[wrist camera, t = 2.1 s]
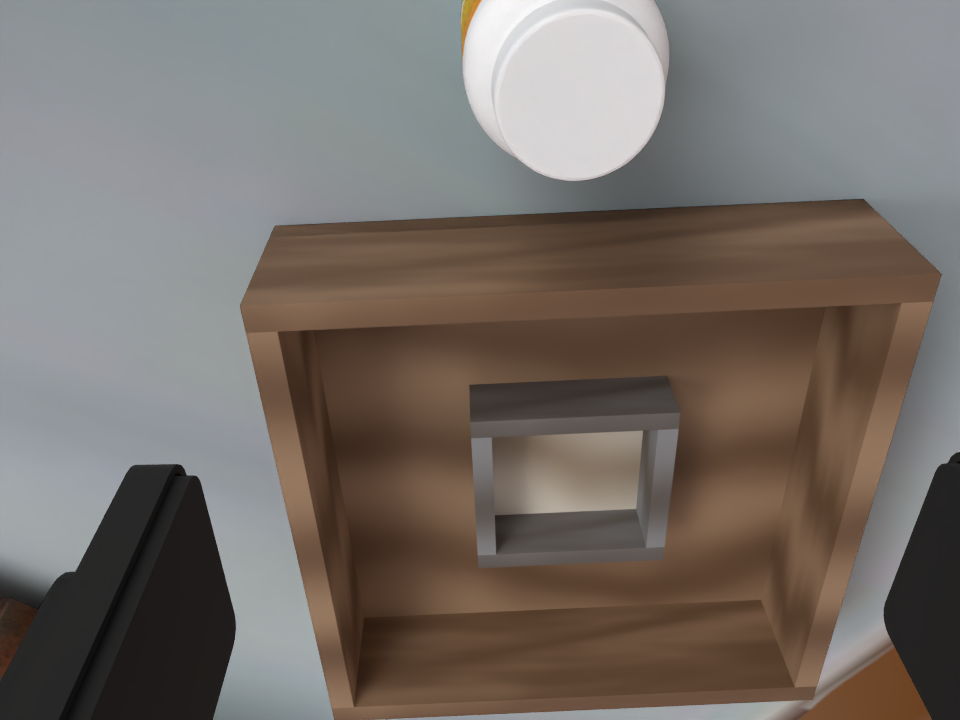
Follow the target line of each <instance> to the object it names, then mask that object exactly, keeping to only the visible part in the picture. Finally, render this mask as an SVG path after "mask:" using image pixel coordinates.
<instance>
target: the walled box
mask: <svg viewBox="0 0 960 720" xmlns="http://www.w3.org/2000/svg"><path fill="white" fill-rule="evenodd" d="M940 278H941V273H940V272H939V271H938V270H937V269H936V268H935V267H934V266H933V265H932V264H931V263H930V262H929V261H928V260H927V259H925V258H924V257H923V256H922V255H921V254H920V253H919V252H918V251H917V250H916V249H915V248H914V247H913V246H912V245H911V244H910V243H909V242H908V241H907V240H906V239H905V238H903V237H902V236H901V235H900V234H899V233H898V232H897V231H896V230H895V229H894V228H893V227H892V226H891V225H890V224H889V223H888V222H887V221H886V220H885V219H884V218H883V217H881V216H880V215H879V214H878V213H877V212H876V211H875V210H874V209H873V208H872V207H871V206H870V205H869V204H868V203H867V202H866V201H865V200H864V199H853V200H831V201H809V202H787V203H765V204H743V205H722V206H700V207H678V208H656V209H634V210H612V211H590V212H568V213H546V214H525V215H503V216H481V217H459V218H437V219H415V220H393V221H371V222H349V223H328V224H306V225H284V226H274V229H273V231H272V233H271V235H270V238H269V240H268V242H267V245H266V247H265V249H264V252H263V254H262V256H261V258H260V261H259V263H258V265H257V268H256V270H255V272H254V275H253V277H252V279H251V281H250V284H249V286H248V288H247V291H246V293H245V295H244V298H243V300H242V302H241V304H240V309H241V313H242V317H243V322H244V326H245V331H246V335H247V339H248V344H249V348H250V352H251V357H252V361H253V366H254V370H255V374H256V379H257V383H258V387H259V392H260V396H261V401H262V405H263V409H264V414H265V418H266V422H267V427H268V431H269V436H270V440H271V444H272V449H273V453H274V458H275V462H276V466H277V471H278V475H279V479H280V484H281V488H282V493H283V497H284V501H285V506H286V510H287V514H288V519H289V523H290V528H291V532H292V536H293V541H294V545H295V549H296V554H297V558H298V563H299V567H300V571H301V576H302V580H303V584H304V589H305V593H306V598H307V602H308V606H309V611H310V615H311V620H312V624H313V628H314V633H315V637H316V641H317V646H318V650H319V655H320V659H321V663H322V668H323V672H324V676H325V681H326V685H327V690H328V694H329V698H330V703H331V707H332V711H333V716H334V720H375V719H397V718H419V717H441V716H463V715H485V714H507V713H529V712H551V711H573V710H595V709H618V708H640V707H662V706H684V705H706V704H728V703H750V702H772V701H794V700H813V697H814V694H815V690H816V687H817V684H818V681H819V677H820V674H821V671H822V667H823V664H824V661H825V657H826V654H827V651H828V648H829V644H830V641H831V638H832V634H833V631H834V628H835V624H836V621H837V618H838V615H839V611H840V608H841V605H842V601H843V598H844V595H845V591H846V588H847V585H848V581H849V578H850V575H851V572H852V568H853V565H854V562H855V558H856V555H857V552H858V548H859V545H860V542H861V539H862V535H863V532H864V529H865V525H866V522H867V519H868V515H869V512H870V509H871V506H872V502H873V499H874V496H875V492H876V489H877V486H878V482H879V479H880V476H881V473H882V469H883V466H884V463H885V459H886V456H887V453H888V449H889V446H890V443H891V439H892V436H893V433H894V430H895V426H896V423H897V420H898V416H899V413H900V410H901V406H902V403H903V400H904V397H905V393H906V390H907V387H908V383H909V380H910V377H911V373H912V370H913V367H914V364H915V360H916V357H917V354H918V350H919V347H920V344H921V340H922V337H923V334H924V330H925V327H926V324H927V321H928V317H929V314H930V311H931V307H932V304H933V301H934V297H935V294H936V291H937V288H938V284H939V281H940Z"/></svg>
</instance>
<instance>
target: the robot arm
mask: <svg viewBox="0 0 960 720" xmlns="http://www.w3.org/2000/svg"><path fill="white" fill-rule="evenodd" d="M884 622H885V626H886V630H887V632H888V635H889V637H890V639H891V641H892V642H893V644H894V646H895V648H896V650H897V652H898V654H899V656H900V658H901V660H902V662H903V664H904V666H905V667H906V670H907V672H908V674H909V675H910V677H911V679H912V681H913V683H914V685H915V687H916V689H917V691H918V693H919V695H920V697H921V699H922V701H923V703H924V705H925V707H926V708H927V710H928V712H929V714H930V716H931V718H932V720H960V452H958V453H955V454H954V455H953V456H952V457H951V458H950V460H949V462H948V463H946V464H941V465H940V466H939V467H938V468H937V470H936V472H935V474H934V477H933V480H932V482H931V485H930V487H929V490H928V493H927V495H926V498H925V501H924V503H923V506H922V508H921V511H920V514H919V516H918V519H917V521H916V524H915V527H914V529H913V532H912V534H911V537H910V540H909V542H908V545H907V547H906V550H905V553H904V555H903V558H902V560H901V563H900V566H899V568H898V571H897V574H896V576H895V579H894V581H893V584H892V587H891V589H890V592H889V594H888V597H887V600H886V602H885V606H884ZM235 631H236V622H235V614H234V610H233V606H232V603H231V599H230V595H229V591H228V587H227V583H226V579H225V575H224V572H223V568H222V564H221V560H220V556H219V552H218V548H217V544H216V540H215V537H214V533H213V529H212V525H211V521H210V517H209V513H208V509H207V506H206V502H205V498H204V494H203V490H202V486H201V483H200V480H199V478H198V477H197V476H187V475H186V472H185V470H184V468H183V467H182V466H181V465H178V464H168V465H134V466H132V467H131V468H130V469H129V470H128V472H127V473H126V475H125V477H124V479H123V481H122V483H121V485H120V487H119V489H118V491H117V493H116V495H115V496H114V498H113V500H112V502H111V504H110V506H109V508H108V510H107V512H106V514H105V516H104V518H103V520H102V522H101V524H100V525H99V527H98V529H97V531H96V533H95V535H94V537H93V539H92V541H91V543H90V545H89V547H88V549H87V551H86V553H85V555H84V556H83V558H82V560H81V562H80V564H79V566H78V568H77V570H76V572H66V573H64V574H63V575H61V576H60V577H59V578H57V579H56V581H55V582H54V584H53V585H52V587H51V588H50V590H49V591H48V593H47V595H46V597H45V599H44V601H43V602H42V604H41V606H40V608H39V610H38V612H37V614H36V615H35V617H34V619H33V621H32V623H31V625H30V627H29V628H28V630H27V632H26V634H25V636H24V638H23V640H22V641H21V643H20V645H19V647H18V649H17V651H16V653H15V654H14V656H13V658H12V660H11V662H10V664H9V666H8V667H7V669H6V671H5V673H4V675H3V677H2V679H1V680H0V720H213V717H214V713H215V709H216V706H217V702H218V699H219V695H220V692H221V688H222V684H223V681H224V677H225V674H226V670H227V667H228V663H229V660H230V656H231V652H232V649H233V645H234V640H235Z"/></svg>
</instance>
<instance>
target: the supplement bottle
mask: <svg viewBox="0 0 960 720" xmlns="http://www.w3.org/2000/svg"><path fill="white" fill-rule="evenodd" d="M461 37H462V68H463V79H464V85H465V89H466V93H467V97H468V100H469V103H470V106H471V108H472V111H473V113H474V115H475V117H476V119H477V121H478V122H479V124H480V126H481V127H482V129H483V130H484V131H485V132H486V134H487V135H488V136H489V137H490V138H491V139H492V140H493V141H494V142H495V143H496V144H497V145H498V146H499V147H500V148H502V149H503V150H504V151H506V152H507V153H508V154H510V155H512V156H513V157H515V158H517V159H519V160H520V161H521V162H522V163H524V164H525V165H526V166H527V167H529V168H530V169H532V170H534V171H536V172H537V173H539V174H542V175H544V176H547V177H550V178H553V179H558V180H565V181H582V180H589V179H594V178H598V177H601V176H604V175H607V174H609V173H611V172H613V171H615V170H617V169H619V168H621V167H622V166H624V165H625V164H626V163H628V162H629V161H630V160H631V159H633V158H634V157H635V156H636V155H637V154H638V153H639V152H640V151H641V150H642V149H643V147H644V146H645V145H646V144H647V142H648V141H649V139H650V138H651V136H652V134H653V133H654V131H655V129H656V127H657V125H658V123H659V120H660V117H661V114H662V111H663V106H664V100H665V84H666V80H667V76H668V69H669V40H668V35H667V30H666V26H665V23H664V20H663V17H662V15H661V12H660V10H659V8H658V6H657V4H656V3H655V1H654V0H462V6H461Z"/></svg>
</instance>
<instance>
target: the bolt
mask: <svg viewBox="0 0 960 720" xmlns="http://www.w3.org/2000/svg"><path fill="white" fill-rule="evenodd" d="M38 610H39V609H37V608H34V607H32V606H29V605H27V604H24V603H22V602H20V601H17V600H15V599H12V598H8V599H7V598H4V597H0V680H1V679H2V677H3V675H4V673H5V671H6V669H7V667H8V666H9V664H10V662H11V660H12V658H13V656H14V654H15V653H16V651H17V649H18V647H19V645H20V643H21V641H22V640H23V638H24V636H25V634H26V632H27V630H28V628H29V627H30V625H31V623H32V621H33V619H34V617H35V615H36V614H37V612H38Z"/></svg>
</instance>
